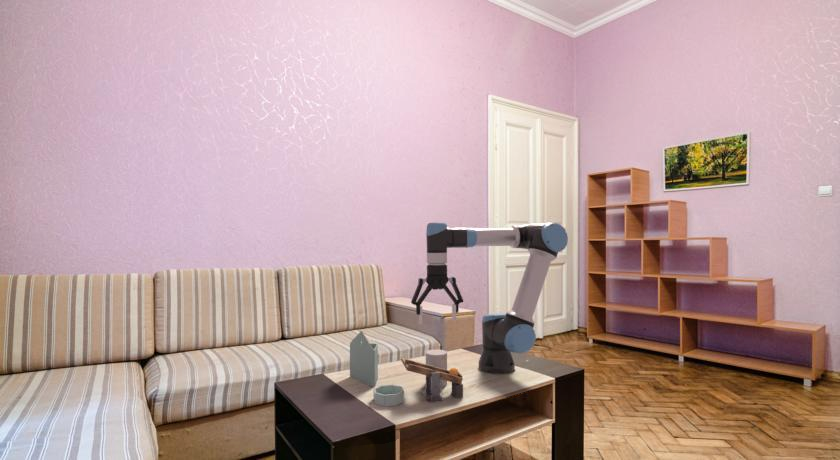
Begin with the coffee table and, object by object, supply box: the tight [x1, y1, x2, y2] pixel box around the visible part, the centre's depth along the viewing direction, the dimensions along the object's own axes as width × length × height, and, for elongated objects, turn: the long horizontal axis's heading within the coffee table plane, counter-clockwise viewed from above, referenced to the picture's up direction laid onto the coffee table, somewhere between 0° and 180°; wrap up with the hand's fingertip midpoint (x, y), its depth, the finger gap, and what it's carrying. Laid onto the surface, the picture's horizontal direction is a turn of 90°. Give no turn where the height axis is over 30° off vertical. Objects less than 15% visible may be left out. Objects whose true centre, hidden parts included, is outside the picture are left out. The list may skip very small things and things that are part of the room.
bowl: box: [373, 384, 405, 407], centre depth 152 cm, size 10×10×4 cm
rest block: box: [451, 382, 464, 399], centre depth 157 cm, size 2×6×4 cm, turn 12°
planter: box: [349, 330, 379, 388], centre depth 173 cm, size 16×8×20 cm, turn 41°
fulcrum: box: [422, 365, 444, 404], centre depth 155 cm, size 5×10×10 cm, turn 12°
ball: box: [448, 367, 460, 376], centre depth 156 cm, size 4×4×4 cm
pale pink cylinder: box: [425, 349, 448, 388], centre depth 168 cm, size 8×8×12 cm
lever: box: [400, 357, 464, 384], centre depth 158 cm, size 20×13×3 cm
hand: (437, 322), depth 163 cm, fingers open, 12 cm apart
